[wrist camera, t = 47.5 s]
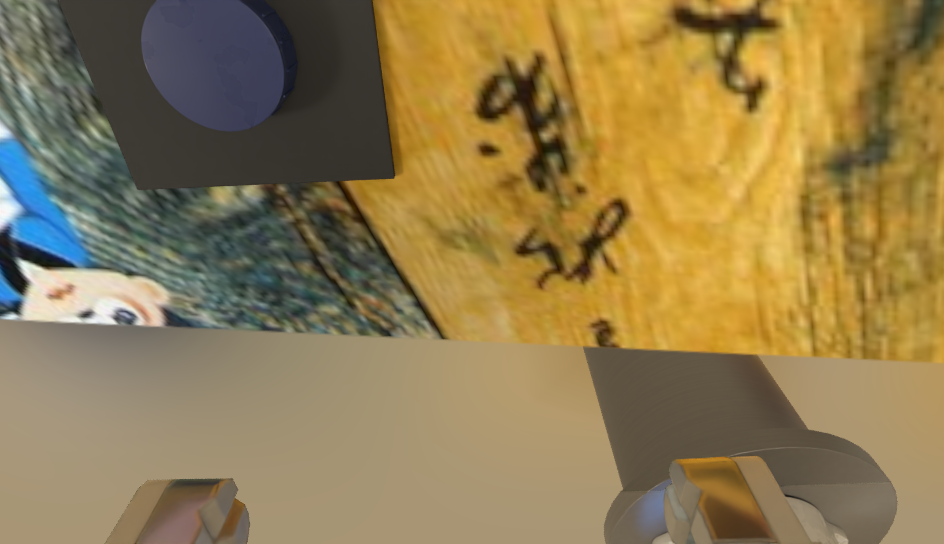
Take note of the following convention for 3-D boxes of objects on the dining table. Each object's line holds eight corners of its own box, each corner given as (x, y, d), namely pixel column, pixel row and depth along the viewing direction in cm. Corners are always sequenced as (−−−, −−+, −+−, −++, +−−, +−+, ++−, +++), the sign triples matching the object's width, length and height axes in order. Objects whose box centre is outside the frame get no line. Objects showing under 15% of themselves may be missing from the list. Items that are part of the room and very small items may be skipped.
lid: (143, -14, 23) (115, -9, 22) (278, -25, 23) (262, -21, 21) (191, 122, 27) (172, 136, 25) (311, 113, 27) (299, 127, 25)
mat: (395, 176, 29) (394, 178, 29) (141, 187, 29) (137, 190, 29) (353, -151, 21) (351, -152, 21) (9, -133, 21) (1, -133, 21)
